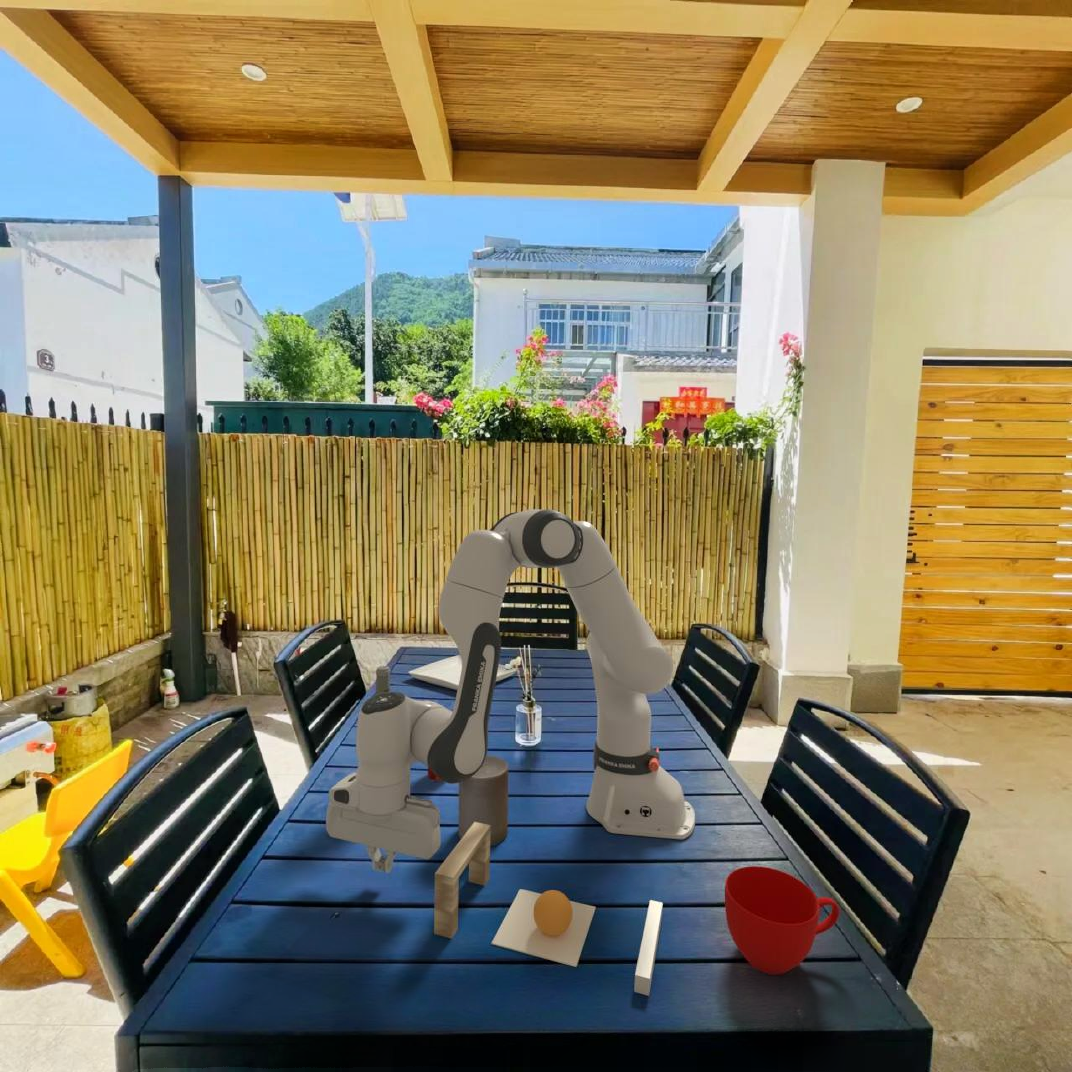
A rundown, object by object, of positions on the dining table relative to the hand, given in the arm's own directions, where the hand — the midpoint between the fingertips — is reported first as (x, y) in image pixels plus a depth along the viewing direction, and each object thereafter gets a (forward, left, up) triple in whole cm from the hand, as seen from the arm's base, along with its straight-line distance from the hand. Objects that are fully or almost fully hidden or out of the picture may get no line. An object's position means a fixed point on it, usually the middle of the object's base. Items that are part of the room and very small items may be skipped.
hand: (382, 869), depth 105 cm
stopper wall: (-45, 0, -3) cm, 45 cm away
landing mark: (-29, 0, -3) cm, 29 cm away
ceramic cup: (-63, -6, -3) cm, 64 cm away
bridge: (-15, 0, -3) cm, 15 cm away
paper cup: (+8, -38, -3) cm, 39 cm away
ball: (-30, +1, 0) cm, 30 cm away
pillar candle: (-10, -20, -3) cm, 23 cm away
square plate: (+32, -104, -3) cm, 109 cm away
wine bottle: (+13, -21, -3) cm, 25 cm away
